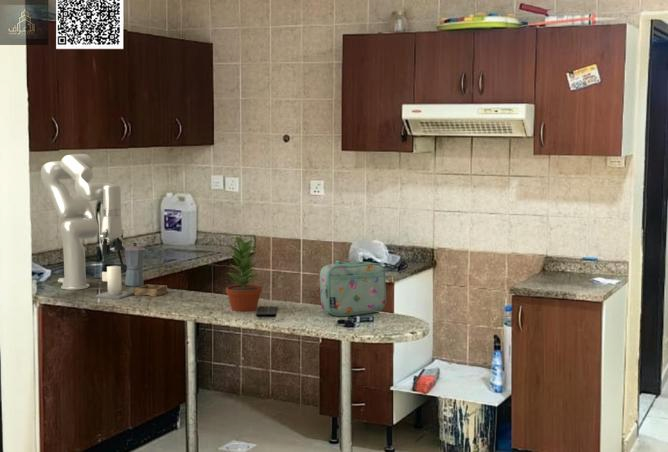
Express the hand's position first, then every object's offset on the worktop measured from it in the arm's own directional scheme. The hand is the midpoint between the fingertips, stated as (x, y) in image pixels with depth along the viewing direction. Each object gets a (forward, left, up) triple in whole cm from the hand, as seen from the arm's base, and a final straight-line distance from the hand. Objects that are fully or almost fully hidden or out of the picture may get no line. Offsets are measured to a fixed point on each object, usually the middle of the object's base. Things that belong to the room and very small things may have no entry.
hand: (112, 251), depth 434 cm
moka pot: (-5, +26, -20) cm, 33 cm away
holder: (+14, +9, -19) cm, 25 cm away
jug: (-1, 0, -19) cm, 19 cm away
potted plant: (+68, -10, -20) cm, 71 cm away
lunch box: (+112, -5, -20) cm, 114 cm away
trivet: (+1, 0, -19) cm, 19 cm away
